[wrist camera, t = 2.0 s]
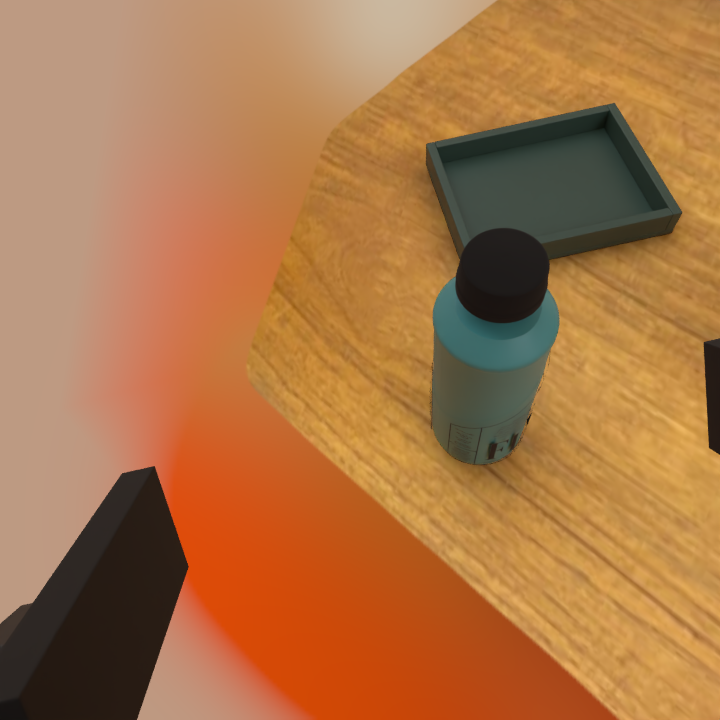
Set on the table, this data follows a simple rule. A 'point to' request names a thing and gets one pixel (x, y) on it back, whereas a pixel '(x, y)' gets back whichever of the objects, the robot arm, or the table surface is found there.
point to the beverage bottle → (491, 345)
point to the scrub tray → (553, 183)
